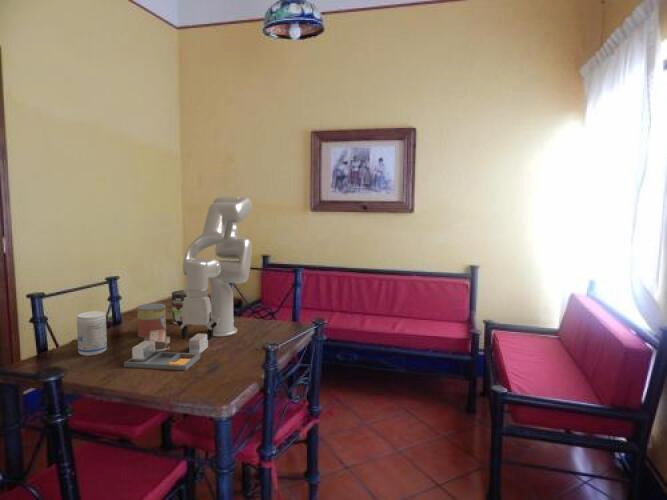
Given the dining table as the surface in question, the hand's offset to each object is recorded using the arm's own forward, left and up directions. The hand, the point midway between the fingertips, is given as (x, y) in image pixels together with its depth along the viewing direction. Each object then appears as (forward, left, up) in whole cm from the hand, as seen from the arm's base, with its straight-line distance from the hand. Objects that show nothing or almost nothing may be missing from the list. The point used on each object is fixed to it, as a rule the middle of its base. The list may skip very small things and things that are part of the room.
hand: (197, 338), depth 168 cm
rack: (+13, -7, -6) cm, 16 cm away
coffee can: (-40, -24, -6) cm, 47 cm away
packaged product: (-5, -19, -6) cm, 21 cm away
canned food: (-20, -29, -6) cm, 36 cm away
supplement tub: (+5, -39, -6) cm, 40 cm away
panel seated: (+13, -14, -5) cm, 20 cm away
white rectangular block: (-1, 0, -6) cm, 6 cm away
